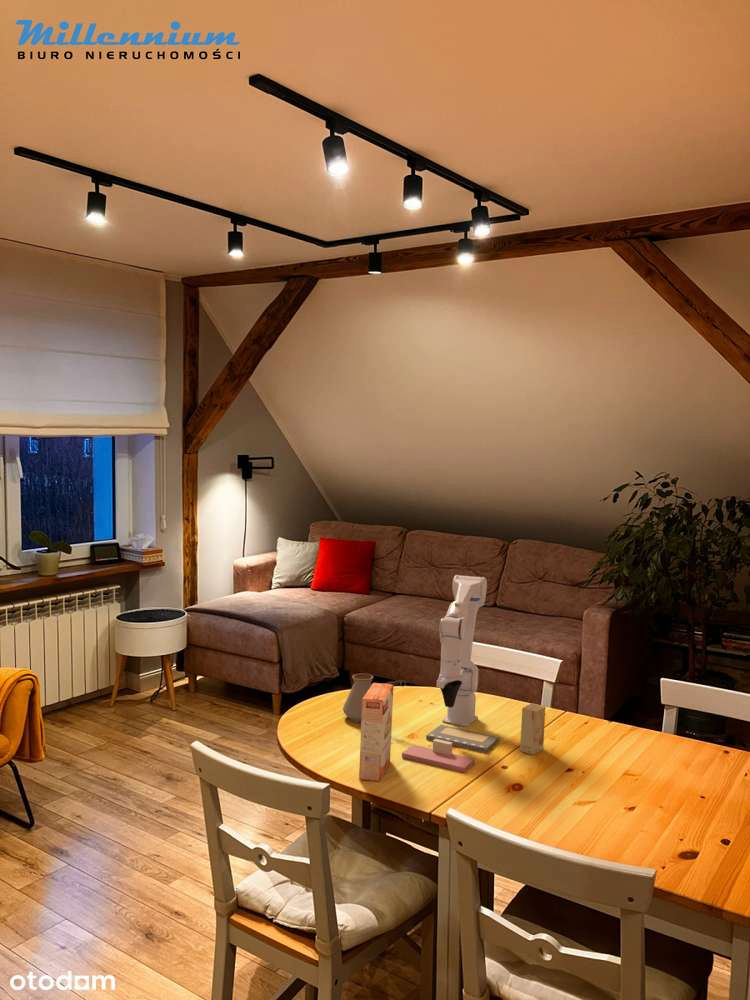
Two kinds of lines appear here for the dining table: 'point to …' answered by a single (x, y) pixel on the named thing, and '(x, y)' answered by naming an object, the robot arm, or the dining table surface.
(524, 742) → the skincare box
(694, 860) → the dining table surface
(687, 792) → the dining table surface
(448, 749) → the pink board with handle
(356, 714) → the coffee pot
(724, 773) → the dining table surface
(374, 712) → the cracker box
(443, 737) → the ticket
